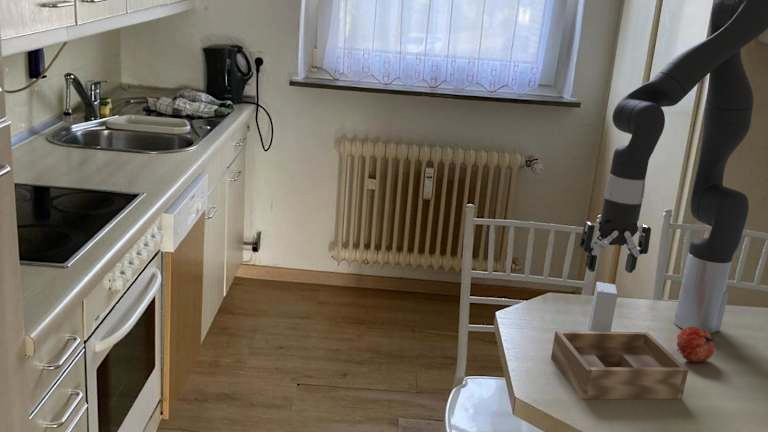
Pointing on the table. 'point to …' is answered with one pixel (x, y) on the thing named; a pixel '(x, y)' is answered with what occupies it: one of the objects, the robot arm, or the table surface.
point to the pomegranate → (695, 344)
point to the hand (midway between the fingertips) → (609, 271)
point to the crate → (618, 365)
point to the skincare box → (603, 307)
